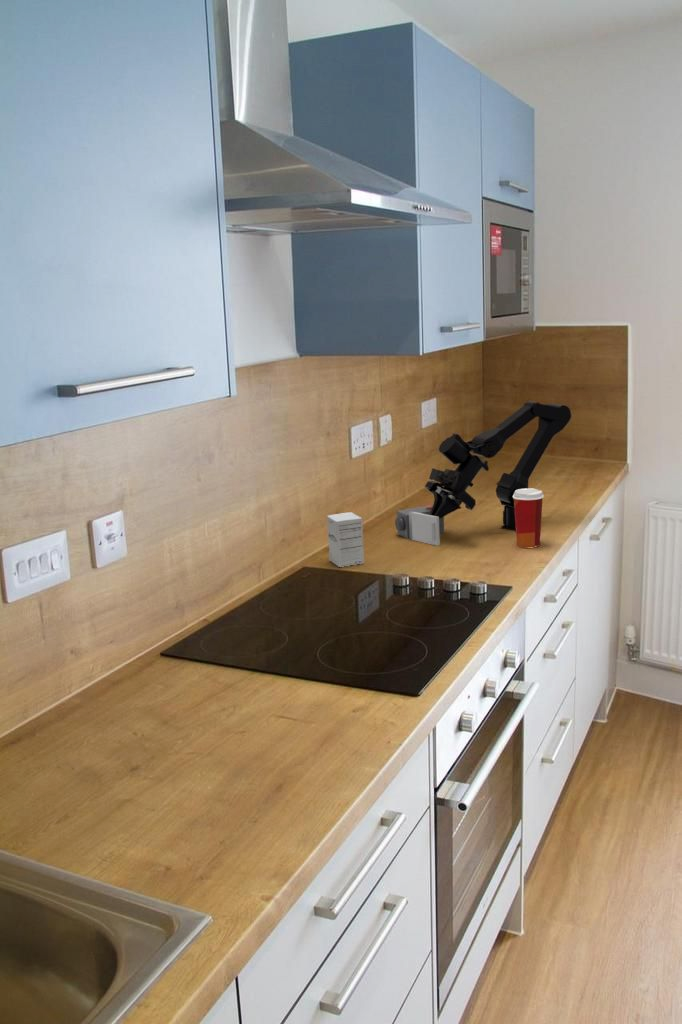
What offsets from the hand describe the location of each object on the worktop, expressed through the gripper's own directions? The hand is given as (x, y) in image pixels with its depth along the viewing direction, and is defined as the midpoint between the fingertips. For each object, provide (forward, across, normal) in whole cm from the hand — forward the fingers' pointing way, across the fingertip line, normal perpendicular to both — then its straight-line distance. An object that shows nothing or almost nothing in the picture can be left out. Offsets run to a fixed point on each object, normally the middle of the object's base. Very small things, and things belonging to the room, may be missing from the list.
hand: (432, 519), depth 246 cm
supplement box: (+24, +3, -15) cm, 29 cm away
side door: (+6, -2, +3) cm, 7 cm away
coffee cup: (-8, +17, +19) cm, 27 cm away
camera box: (+4, -11, +6) cm, 13 cm away
